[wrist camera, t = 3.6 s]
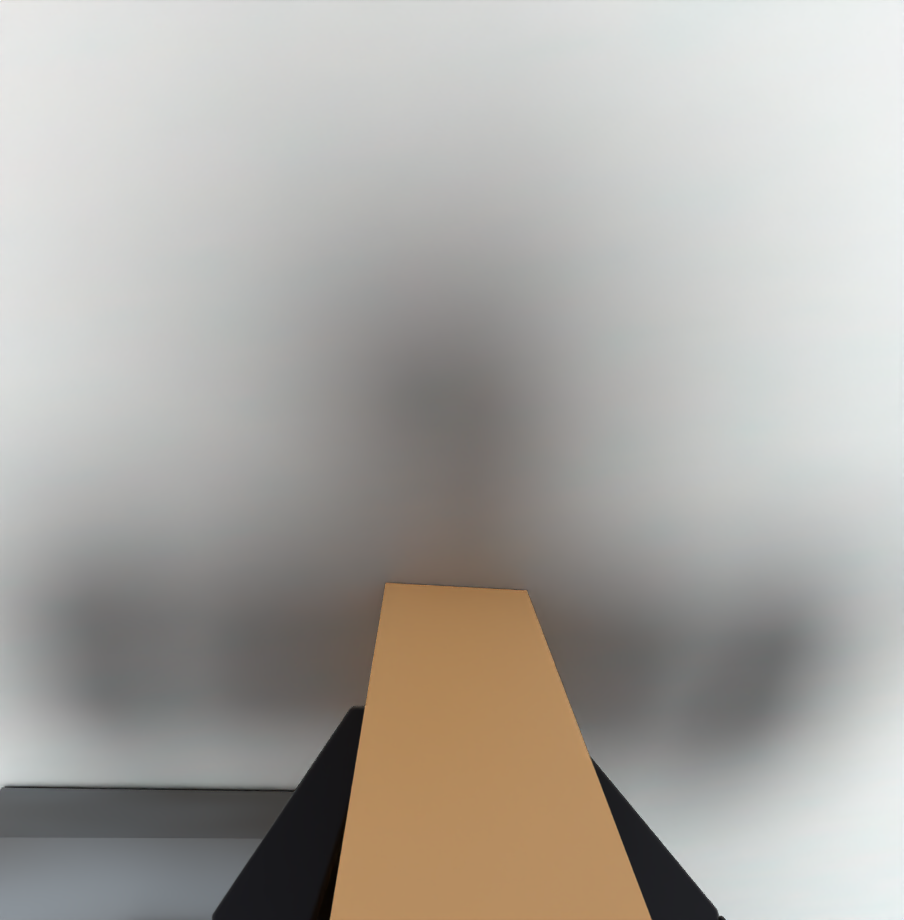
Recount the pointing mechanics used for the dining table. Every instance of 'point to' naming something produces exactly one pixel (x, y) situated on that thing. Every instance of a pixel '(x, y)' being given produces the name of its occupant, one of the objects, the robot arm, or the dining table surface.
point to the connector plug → (475, 775)
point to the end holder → (126, 851)
